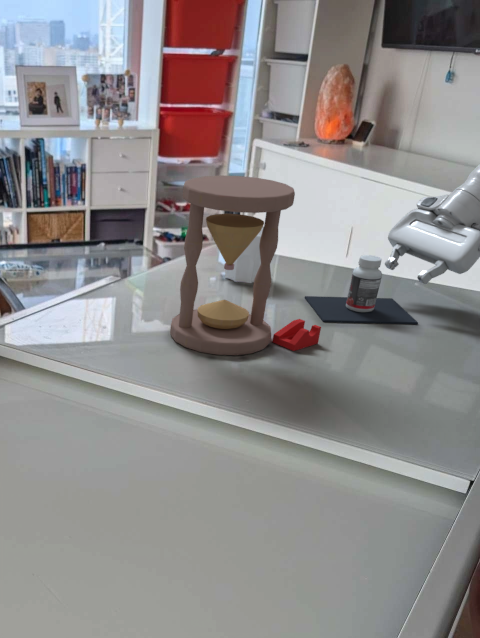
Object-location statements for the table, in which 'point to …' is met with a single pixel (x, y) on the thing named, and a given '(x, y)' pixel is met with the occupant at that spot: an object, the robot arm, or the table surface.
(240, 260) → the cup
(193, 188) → the hourglass
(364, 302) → the pill bottle
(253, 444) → the table surface
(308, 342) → the bracket
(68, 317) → the table surface
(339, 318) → the mat
